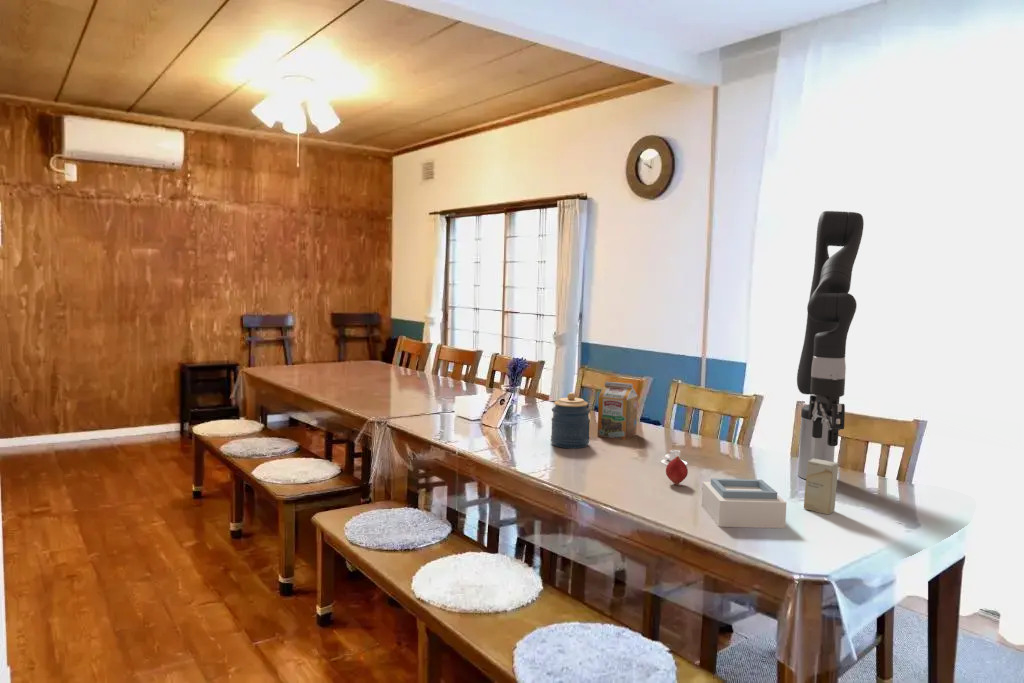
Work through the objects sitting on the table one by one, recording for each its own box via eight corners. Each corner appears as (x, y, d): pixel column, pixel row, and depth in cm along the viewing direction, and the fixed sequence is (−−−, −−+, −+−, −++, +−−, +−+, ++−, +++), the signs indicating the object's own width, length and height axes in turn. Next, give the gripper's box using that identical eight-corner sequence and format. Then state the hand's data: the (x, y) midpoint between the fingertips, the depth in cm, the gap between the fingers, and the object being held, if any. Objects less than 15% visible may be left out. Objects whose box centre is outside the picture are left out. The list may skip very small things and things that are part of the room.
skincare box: (803, 509, 171) (806, 460, 170) (809, 505, 174) (812, 457, 173) (829, 515, 167) (832, 465, 166) (836, 511, 170) (839, 462, 169)
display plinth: (701, 505, 173) (703, 475, 172) (762, 506, 172) (763, 477, 172) (718, 526, 158) (720, 494, 157) (785, 528, 157) (786, 495, 157)
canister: (594, 448, 229) (596, 395, 228) (557, 449, 226) (558, 396, 225) (581, 439, 242) (583, 389, 240) (546, 440, 239) (547, 390, 237)
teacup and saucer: (663, 458, 219) (664, 446, 219) (689, 461, 216) (690, 448, 216) (658, 465, 211) (659, 452, 211) (685, 468, 208) (685, 455, 208)
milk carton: (636, 434, 252) (638, 382, 250) (625, 439, 243) (627, 385, 241) (609, 430, 257) (610, 379, 255) (597, 435, 248) (599, 383, 246)
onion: (661, 482, 192) (662, 454, 191) (678, 480, 194) (679, 452, 193) (673, 488, 186) (675, 459, 186) (691, 486, 188) (692, 457, 188)
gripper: (800, 371, 175) (797, 435, 176) (825, 379, 161) (821, 448, 162) (830, 372, 175) (827, 435, 176) (858, 379, 161) (854, 448, 162)
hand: (824, 441), depth 169 cm, fingers open, 8 cm apart
